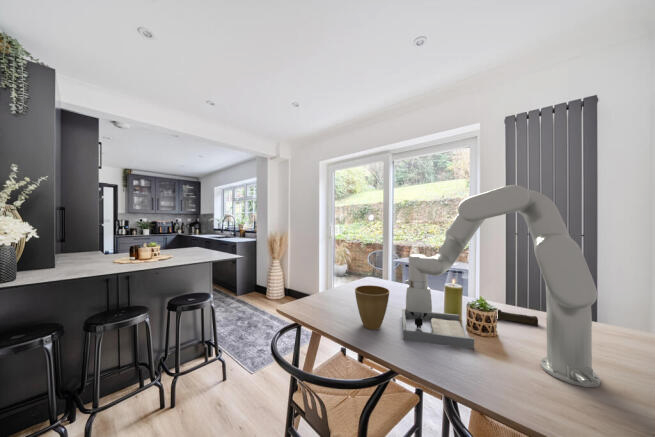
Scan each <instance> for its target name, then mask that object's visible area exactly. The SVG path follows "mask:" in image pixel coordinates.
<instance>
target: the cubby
mask: <svg viewBox="0 0 655 437" xmlns="http://www.w3.org/2000/svg"><path fill="white" fill-rule="evenodd" d="M401 315H402V317H401V318H402V321H401V322H402V336H403V337H402V339H403V340H404V341H411V342H416V343H425V344H433V345H434V344H435V345H440V346H447V347H448V346H449V347H456V348H463V349H471V350H474V349H475V338H474V337H469V336H466V337H462V336H453V335H445V334H436V333H433V332H429V331H428V332H427V331H426V332H425V331H418V330H409V329H407V319H413V320H415V318H414V316H413V315H412V314H411V313H407V312H406V311H405V309H402V310H401ZM417 315H418V317H419V315H420V312H417ZM432 318H437V319H444V320H450V321H459V322H460V315H459V314H454V313H443V312H442V313H441V312H435V311H434V312H433V311H432V314H431V315H426V316H425V317H424V318H423V319H422V320H423V321H424V320H425V321H431V319H432Z"/></svg>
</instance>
